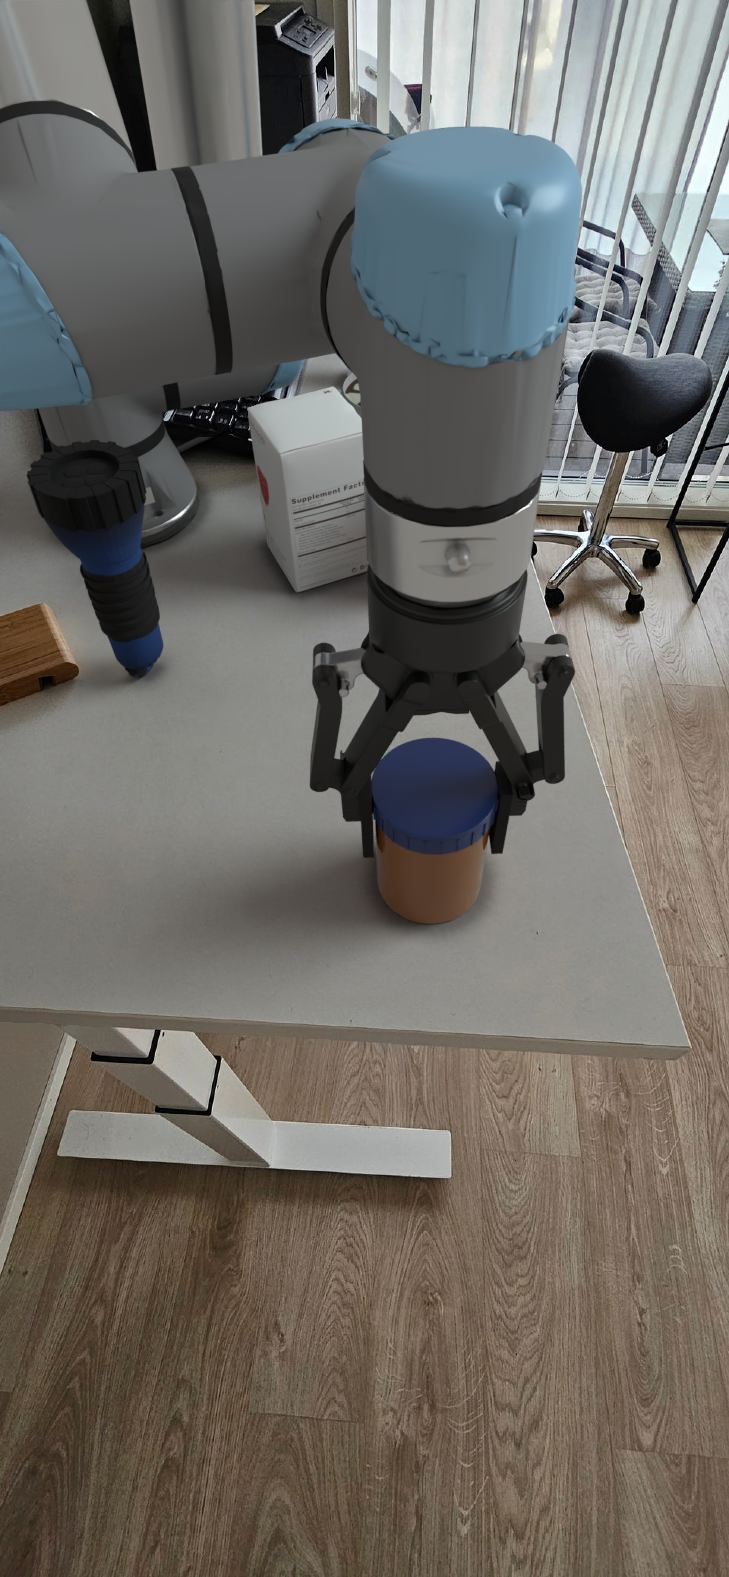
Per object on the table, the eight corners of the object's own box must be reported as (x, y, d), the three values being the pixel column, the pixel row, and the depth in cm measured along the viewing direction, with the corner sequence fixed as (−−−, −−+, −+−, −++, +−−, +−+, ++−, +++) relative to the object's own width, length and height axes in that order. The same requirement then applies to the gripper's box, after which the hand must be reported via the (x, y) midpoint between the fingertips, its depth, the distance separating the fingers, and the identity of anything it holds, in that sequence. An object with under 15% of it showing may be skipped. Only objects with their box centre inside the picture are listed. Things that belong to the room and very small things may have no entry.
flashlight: (197, 638, 77) (145, 436, 61) (187, 699, 72) (129, 495, 56) (112, 641, 77) (39, 440, 61) (97, 702, 72) (13, 500, 56)
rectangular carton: (264, 545, 85) (243, 404, 73) (343, 523, 87) (335, 383, 75) (294, 595, 80) (276, 452, 68) (377, 570, 82) (374, 428, 70)
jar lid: (374, 753, 55) (374, 734, 54) (494, 757, 55) (497, 738, 53) (366, 852, 50) (365, 835, 49) (498, 858, 50) (501, 840, 48)
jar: (380, 833, 62) (377, 742, 54) (480, 837, 62) (493, 746, 53) (374, 921, 58) (370, 837, 49) (481, 926, 57) (496, 842, 49)
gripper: (216, 623, 35) (277, 891, 53) (694, 605, 35) (594, 881, 53) (230, 522, 40) (282, 800, 58) (653, 506, 40) (573, 791, 58)
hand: (431, 839), depth 56 cm, fingers closed on jar lid, 8 cm apart
